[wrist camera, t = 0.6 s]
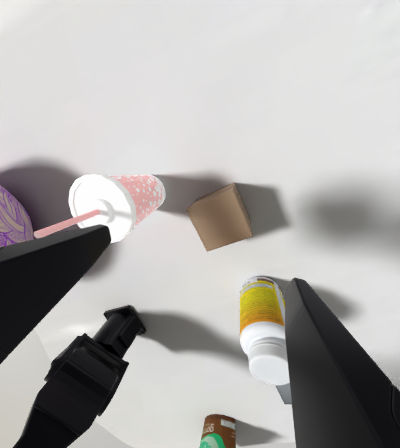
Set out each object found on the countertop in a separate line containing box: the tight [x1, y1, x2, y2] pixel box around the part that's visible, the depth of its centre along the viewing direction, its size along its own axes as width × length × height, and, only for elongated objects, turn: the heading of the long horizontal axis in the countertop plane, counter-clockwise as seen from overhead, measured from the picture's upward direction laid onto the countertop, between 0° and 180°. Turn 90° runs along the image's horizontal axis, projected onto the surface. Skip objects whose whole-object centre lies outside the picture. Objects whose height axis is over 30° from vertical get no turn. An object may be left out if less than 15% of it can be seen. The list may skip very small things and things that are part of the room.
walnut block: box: [186, 183, 253, 251], centre depth 20 cm, size 5×5×5 cm
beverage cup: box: [34, 174, 166, 243], centre depth 17 cm, size 6×6×14 cm
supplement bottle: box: [240, 277, 290, 385], centre depth 20 cm, size 6×6×10 cm
